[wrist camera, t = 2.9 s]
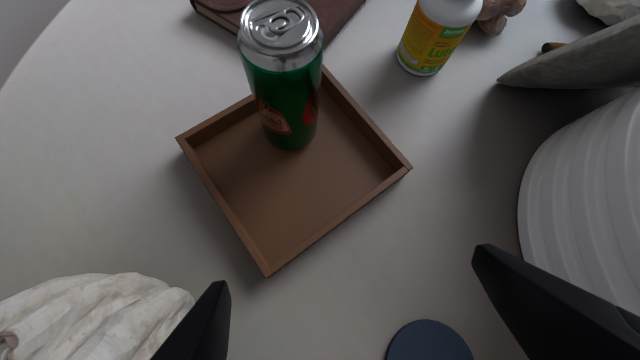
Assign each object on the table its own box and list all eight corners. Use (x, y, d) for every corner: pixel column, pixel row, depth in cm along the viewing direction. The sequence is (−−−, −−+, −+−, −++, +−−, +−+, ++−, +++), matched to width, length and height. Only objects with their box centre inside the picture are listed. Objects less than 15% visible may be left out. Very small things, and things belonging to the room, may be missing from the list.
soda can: (253, 124, 26) (213, 13, 15) (295, 98, 27) (288, -25, 16) (285, 163, 25) (268, 76, 14) (327, 133, 26) (344, 30, 15)
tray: (269, 277, 22) (265, 278, 20) (185, 148, 25) (174, 137, 23) (404, 175, 25) (414, 167, 23) (316, 73, 29) (316, 57, 26)
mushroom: (521, 39, 32) (508, -24, 32) (549, 6, 26) (533, -71, 27) (452, 57, 34) (441, -3, 34) (464, 30, 28) (450, -41, 29)
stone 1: (481, 105, 29) (683, 25, 14) (478, 74, 29) (677, -39, 14) (621, 96, 31) (928, 17, 16) (618, 67, 31) (923, -39, 16)
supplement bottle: (415, 85, 29) (467, -1, 19) (386, 49, 30) (422, -47, 21) (453, 65, 30) (519, -25, 21) (423, 32, 31) (473, -68, 22)
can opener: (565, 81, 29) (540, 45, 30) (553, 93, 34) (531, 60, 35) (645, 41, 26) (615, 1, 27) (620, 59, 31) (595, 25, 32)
